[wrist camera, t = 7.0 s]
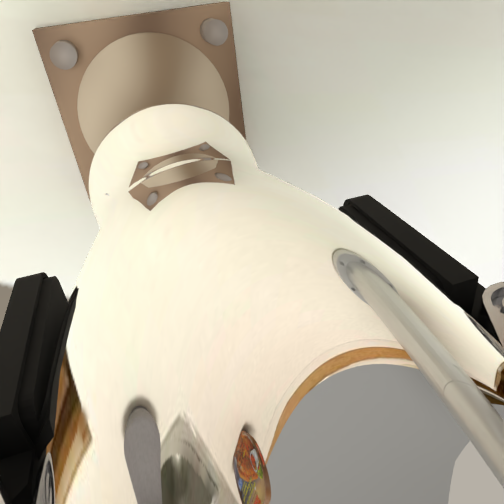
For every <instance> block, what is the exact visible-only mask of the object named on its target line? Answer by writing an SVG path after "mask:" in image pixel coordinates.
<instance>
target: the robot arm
mask: <svg viewBox="0 0 504 504" xmlns="http://www.w3.org/2000/svg"><path fill="white" fill-rule="evenodd" d="M339 210H340V211H342V212H343V213H345V214H347V215H348V216H350V217H352V218H353V219H355V220H357V221H359V222H360V223H362V224H363V225H365V226H366V227H368V228H369V229H370V230H372V231H373V232H374V233H375V234H377V235H378V236H379V237H380V238H382V239H383V240H384V241H385V242H387V243H388V244H389V245H391V246H392V247H393V248H394V249H396V250H397V251H398V252H399V253H401V254H402V255H403V256H405V257H406V258H407V259H408V260H410V261H411V262H412V263H413V264H415V265H416V266H417V267H418V268H420V269H421V270H422V271H423V272H424V273H426V274H427V275H428V276H429V277H430V278H431V279H432V280H433V281H434V282H435V283H436V284H437V285H438V286H440V287H441V288H442V289H443V290H444V291H445V292H446V293H447V294H448V295H449V296H450V297H451V298H453V299H454V300H455V301H456V302H457V303H458V304H459V305H460V306H461V307H462V308H463V309H464V310H465V311H467V312H468V313H469V314H470V315H471V316H472V317H473V318H474V319H475V320H476V321H477V322H478V323H479V324H481V325H482V326H483V327H484V328H485V329H486V330H487V331H488V332H489V333H490V334H491V335H492V336H493V337H494V338H495V339H496V340H497V341H498V342H499V343H500V345H501V346H502V347H503V348H504V282H499V283H496V284H493V285H491V286H489V287H488V288H487V289H486V288H484V287H483V286H482V285H480V284H479V283H478V278H479V277H478V276H477V275H475V274H474V273H473V272H471V271H470V270H469V269H467V268H466V267H465V266H463V265H462V264H461V263H459V262H458V261H457V260H455V259H454V258H453V257H451V256H450V255H449V254H447V253H446V252H445V251H443V250H442V249H441V248H439V247H438V246H437V245H435V244H434V243H433V242H431V241H430V240H429V239H427V238H426V237H425V236H423V235H422V234H421V233H419V232H418V231H417V230H415V229H414V228H413V227H411V226H410V225H409V224H407V223H406V222H405V221H403V220H402V219H401V218H399V217H398V216H397V215H395V214H394V213H392V212H391V211H390V210H388V209H387V208H386V207H384V206H383V205H382V204H380V203H379V202H378V201H376V200H375V199H374V198H372V197H371V196H369V195H364V196H359V197H355V198H351V199H347V200H346V201H345V202H344V205H343V206H342V207H340V208H339ZM67 305H68V301H67V299H66V297H65V294H64V292H63V290H62V287H61V285H60V283H59V280H58V279H57V277H56V276H53V277H49V278H48V276H47V275H46V273H44V272H43V273H38V274H34V275H30V276H26V277H22V278H18V279H16V281H15V284H14V287H13V291H12V294H11V297H10V300H9V304H8V307H7V310H6V314H5V317H4V320H3V324H2V327H1V330H0V504H30V495H31V485H32V476H33V466H34V457H35V448H36V438H37V430H38V424H39V419H40V413H41V408H42V403H43V397H44V392H45V387H46V382H47V376H48V371H49V366H50V360H51V355H52V351H53V347H54V344H55V341H56V338H57V335H58V332H59V329H60V326H61V323H62V320H63V317H64V314H65V311H66V308H67Z"/></svg>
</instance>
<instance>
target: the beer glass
mask: <svg viewBox="0 0 504 504" xmlns="http://www.w3.org/2000/svg"><path fill="white" fill-rule="evenodd" d="M89 195H90V201H91V206H92V209H93V212H94V215H95V218H96V220H97V223H98V225H99V227H100V229H99V231H98V233H97V236H96V238H95V240H94V242H93V244H92V246H91V248H90V251H89V253H88V255H87V257H86V260H85V262H84V264H83V267H82V269H81V271H80V273H79V276H78V278H77V280H76V283H75V285H74V287H73V290H72V293H71V296H70V299H69V302H68V305H67V308H66V311H65V314H64V317H63V320H62V323H61V326H60V329H59V332H58V335H57V338H56V341H55V344H54V347H53V351H52V355H51V360H50V366H49V371H48V376H47V382H46V387H45V392H44V397H43V403H42V408H41V413H40V419H39V424H38V430H37V438H36V448H35V457H34V466H33V476H32V485H31V495H30V504H504V348H503V347H502V346H501V345H500V343H499V342H498V341H497V340H496V339H495V338H494V337H493V336H492V335H491V334H490V333H489V332H488V331H487V330H486V329H485V328H484V327H483V326H482V325H481V324H479V323H478V322H477V321H476V320H475V319H474V318H473V317H472V316H471V315H470V314H469V313H468V312H467V311H465V310H464V309H463V308H462V307H461V306H460V305H459V304H458V303H457V302H456V301H455V300H454V299H453V298H451V297H450V296H449V295H448V294H447V293H446V292H445V291H444V290H443V289H442V288H441V287H440V286H438V285H437V284H436V283H435V282H434V281H433V280H432V279H431V278H430V277H429V276H428V275H427V274H426V273H424V272H423V271H422V270H421V269H420V268H418V267H417V266H416V265H415V264H413V263H412V262H411V261H410V260H408V259H407V258H406V257H405V256H403V255H402V254H401V253H399V252H398V251H397V250H396V249H394V248H393V247H392V246H391V245H389V244H388V243H387V242H385V241H384V240H383V239H382V238H380V237H379V236H378V235H377V234H375V233H374V232H373V231H372V230H370V229H369V228H368V227H366V226H365V225H363V224H362V223H360V222H359V221H357V220H355V219H353V218H352V217H350V216H348V215H347V214H345V213H343V212H342V211H340V210H338V209H337V208H335V207H333V206H332V205H330V204H328V203H327V202H325V201H323V200H322V199H320V198H318V197H316V196H315V195H313V194H311V193H308V192H306V191H304V190H302V189H300V188H298V187H296V186H294V185H292V184H290V183H288V182H286V181H283V180H281V179H279V178H277V177H275V176H273V175H270V174H268V173H266V172H264V171H262V170H260V169H258V166H257V163H256V160H255V157H254V155H253V153H252V151H251V149H250V147H249V145H248V143H247V142H246V140H245V139H244V137H243V136H242V135H241V134H240V132H239V131H238V130H237V129H236V128H235V127H234V126H233V125H232V124H231V123H230V122H228V121H227V120H226V119H224V118H223V117H222V116H220V115H218V114H216V113H214V112H212V111H210V110H208V109H205V108H203V107H199V106H195V105H191V104H183V103H166V104H159V105H154V106H150V107H147V108H144V109H142V110H139V111H137V112H135V113H133V114H131V115H129V116H128V117H126V118H125V119H123V120H122V121H120V122H119V123H118V124H117V125H116V126H115V127H113V128H112V129H111V130H110V132H109V133H108V134H107V135H106V136H105V138H104V139H103V140H102V142H101V143H100V145H99V147H98V149H97V151H96V153H95V155H94V158H93V160H92V164H91V168H90V173H89Z"/></svg>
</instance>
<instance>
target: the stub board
mask: <svg viewBox="0 0 504 504" xmlns="http://www.w3.org/2000/svg"><path fill="white" fill-rule="evenodd" d="M32 31H33V34H34V37H35V40H36V43H37V46H38V49H39V52H40V55H41V58H42V61H43V64H44V67H45V70H46V72H47V75H48V78H49V81H50V84H51V87H52V90H53V93H54V96H55V99H56V102H57V105H58V108H59V111H60V114H61V117H62V120H63V123H64V126H65V129H66V131H67V134H68V137H69V140H70V143H71V146H72V149H73V152H74V155H75V158H76V161H77V164H78V167H79V170H80V173H81V176H82V179H83V182H84V185H85V188H86V191H87V193H88V196H89V199H90V195H89V173H90V168H91V164H92V160H93V158H94V155H95V153H96V151H97V149H98V147H99V145H100V143H101V142H102V140H103V139H104V138H105V136H106V135H107V134H108V133H109V132H110V130H111V129H112V128H113V127H115V126H116V125H117V124H118V123H119V122H120V121H122V120H123V119H125V118H126V117H128V116H129V115H131V114H133V113H135V112H137V111H139V110H142V109H144V108H147V107H150V106H154V105H159V104H166V103H183V104H191V105H195V106H199V107H203V108H205V109H208V110H210V111H212V112H214V113H216V114H218V115H220V116H222V117H223V118H224V119H226V120H227V121H228V122H230V123H231V124H232V125H233V126H234V127H235V128H236V129H237V130H238V131H239V132H240V134H241V135H242V136H243V137H244V139H245V140H246V136H245V128H244V120H243V111H242V103H241V95H240V86H239V78H238V70H237V61H236V53H235V45H234V37H233V28H232V20H231V12H230V3H229V2H219V3H212V4H205V5H198V6H191V7H184V8H177V9H170V10H163V11H156V12H148V13H141V14H134V15H127V16H120V17H113V18H106V19H99V20H92V21H85V22H78V23H71V24H64V25H57V26H49V27H42V28H35V29H34V30H32ZM90 202H91V201H90Z"/></svg>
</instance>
